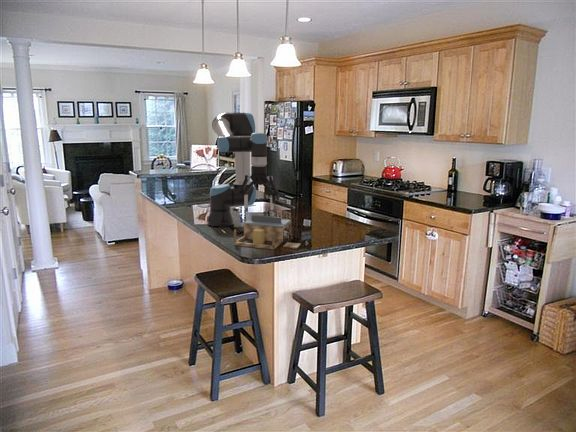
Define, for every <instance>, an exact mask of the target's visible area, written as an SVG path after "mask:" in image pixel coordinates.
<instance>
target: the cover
mask: <svg viewBox="0 0 576 432" xmlns="http://www.w3.org/2000/svg"><path fill="white" fill-rule="evenodd" d="M289 222H291V223H292V220H291V219H284V218H283V219H282V217H281V216H271V215H256V214H252V215H251V218H250V219H248V220H246V221H244V222H243V225H244V224H249V225H260V226H271V227H284V226H285V225H287V224H288V223H289Z"/></svg>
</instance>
